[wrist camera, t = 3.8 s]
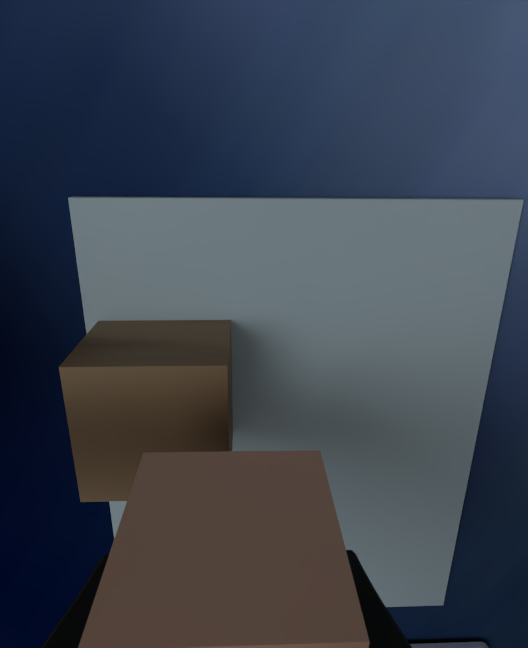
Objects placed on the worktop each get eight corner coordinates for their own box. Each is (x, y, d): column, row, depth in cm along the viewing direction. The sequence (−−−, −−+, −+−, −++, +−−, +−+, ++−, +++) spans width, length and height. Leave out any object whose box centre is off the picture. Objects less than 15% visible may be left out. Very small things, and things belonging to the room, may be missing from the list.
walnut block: (232, 431, 20) (230, 498, 16) (112, 433, 19) (80, 501, 16) (231, 320, 18) (227, 365, 14) (98, 320, 18) (58, 367, 14)
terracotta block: (311, 581, 14) (347, 808, 9) (155, 585, 13) (107, 819, 9) (319, 449, 12) (369, 641, 7) (143, 452, 12) (77, 650, 7)
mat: (440, 598, 24) (443, 605, 24) (126, 607, 23) (124, 615, 23) (517, 198, 17) (523, 199, 17) (72, 196, 16) (68, 197, 16)
